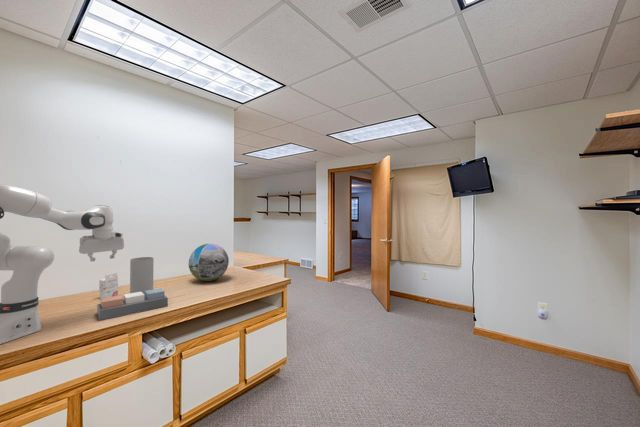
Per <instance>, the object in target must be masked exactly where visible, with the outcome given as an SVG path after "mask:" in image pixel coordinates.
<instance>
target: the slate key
mask: <svg viewBox="0 0 640 427" xmlns="http://www.w3.org/2000/svg"><path fill="white" fill-rule="evenodd" d="M164 295H165V290H164V289H163V288H161V287H160V288H153V290H147V291H145V299H146V300H147V301H148V300H153V299H158V298H163V297H164Z"/></svg>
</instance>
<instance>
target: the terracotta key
mask: <svg viewBox="0 0 640 427" xmlns="http://www.w3.org/2000/svg"><path fill="white" fill-rule="evenodd" d="M122 300H123V298H122V296H121V295H120V294H118V295H115V296H112V297H106V298H100V304H101V305H100V306H101V309H106V308H111V307H116V306H121V305H122Z"/></svg>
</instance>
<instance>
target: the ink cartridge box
mask: <svg viewBox="0 0 640 427" xmlns="http://www.w3.org/2000/svg"><path fill="white" fill-rule="evenodd" d="M118 280H119V279H118V272H115V273H111V274H106V275H105V276H104V278H102V279H99V287H98V288H99V291H98V292H99V299H101V298H106V297H112V296H118V295H119V291H118V289H119V288H118V287H119V285H118V284H119V282H118Z"/></svg>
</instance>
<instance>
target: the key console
mask: <svg viewBox="0 0 640 427" xmlns="http://www.w3.org/2000/svg"><path fill="white" fill-rule="evenodd" d="M168 298H169V297H167V295H165V294H164V297H163V298H158V299H153V300H148V301H147V300H146V299H145V296H144V301H142V302H137V303H132V304H127V305H125V303H124V299H122V305H121V306H116V307H111V308H106V309H101V306H100V305H101V303H97V306H96V307H97V310H96V311H97V312H96V313H97V317H98V320H99V321H103V320H109V319H113V318H117V317H118V318H119V317H123V316H127V315H132V314H136V313H137V314H138V313H141V312H147V311H150V310H155V309H161V308H165V307H168V303H169V302H168V301H169V299H168Z"/></svg>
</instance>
